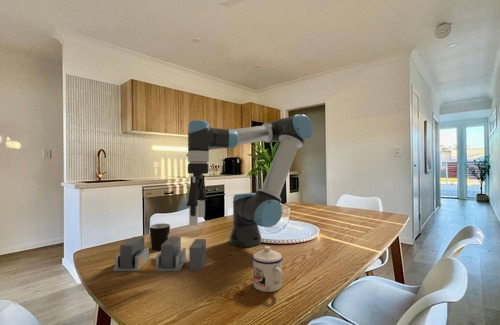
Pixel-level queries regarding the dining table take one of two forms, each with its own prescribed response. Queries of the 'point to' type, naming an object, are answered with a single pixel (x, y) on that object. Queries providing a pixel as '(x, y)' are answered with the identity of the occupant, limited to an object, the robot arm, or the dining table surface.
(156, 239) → the coffee mug
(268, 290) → the teacup with lid
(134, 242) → the rack
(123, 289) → the dining table surface
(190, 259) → the grey rectangular block
